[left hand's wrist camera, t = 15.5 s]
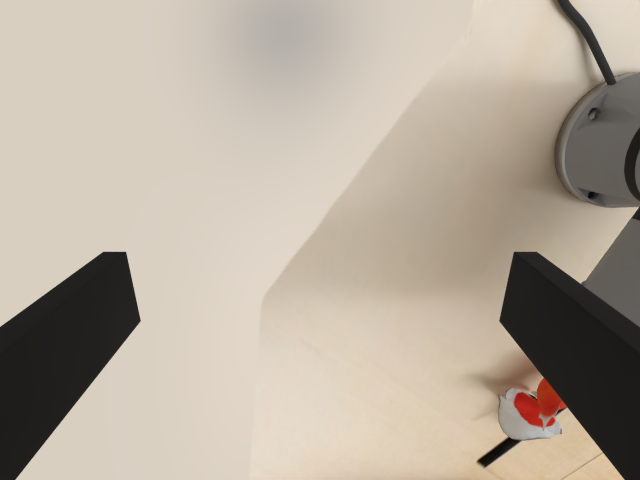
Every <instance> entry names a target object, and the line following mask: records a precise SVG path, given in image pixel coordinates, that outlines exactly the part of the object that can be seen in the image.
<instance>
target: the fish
mask: <svg viewBox="0 0 640 480" xmlns="http://www.w3.org/2000/svg"><path fill="white" fill-rule="evenodd" d="M531 393H533V394H534V395H535V396H536V397H537V399H536V398H535V397H534V396H532V395H530V394H528V393H526V392H524V391H521V390H518V389H514V388H510V389H508V390H507V391H506V397H504V396H502V395H498V396H499V399H500V405H499V414H498V419H499V424H500V426H501V428H502V430H503V432H504V433H505V434H506V435H507V436H509V437H510V438H512V439H516V440H532V439H541V438H551V437H552V436H554V435H555V434H561V427H560V425H559V423H558V421H557V420H556V418H555V416H554V415H555V414H556V413H557V411H558V410H560V409H563V408H565V407H567V406H566V405H565V403H564V402H563V401H562V400H561V398H560V397H559V396H558V395H557V393H556V392H555V391H554V390H553V388H552V387H551V386H550V384H549V383H548V382H547V381H546V379H545V378H544V379H542V381H541V382H540V384H539V386H538V389H537V392H534V391H532V392H531Z"/></svg>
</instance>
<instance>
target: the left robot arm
mask: <svg viewBox="0 0 640 480" xmlns="http://www.w3.org/2000/svg"><path fill="white" fill-rule="evenodd" d="M558 2H559V4H560V6H561V7H562V9H563V10H564V12H565V13H566V14H567V15H568V16H569V17H570V18H571V20H572V21H573V22H574V23H575V24H576V25H577V26H578V28H579V29H580V30H581V32H582V34H583V35H584V37H585V39H586V41H587V43H588V45H589V47H590V49H591V51H592V53H593V55H594V57H595V59H596V62H597V64H598V66H599V68H600V70H601V72H602V74H603V76H604V78H605V82H603V83H602V84H600V85H598V86H597V87H595V88H594V89H593V90H591V91H590V92H589V93H588V94H586V95H585V96H584V97H583V98H582V99H581V100H580V101H579V102H578V103H577V104H576V106H575V107H574V108H573V109H572V111H571V112H570V113H569V115H568V117H567V118H566V120H565V122H564V124H563V126H562V128H561V130H560V133H559V136H558V139H557V143H556V149H555V164H556V170H557V173H558V176H559V178H560V180H561V182H562V184H563V185H564V186H565V188H566V189H567V190H568V191H569V192H570V193H571V194H573V195H574V196H576V197H577V198H579V199H582V200H584V201H586V202H589V203H591V204H594V205H597V206H601V207H610V208H617V207H639V208H638V210H637V211H636V213H635V214H634V215H633V217H632V218H631V219H630V220H629V222H628V223H627V225H626V226H625V227H624V229H623V230H622V231H621V233H620V234H619V236H618V237H617V238H616V240H615V241H614V242H613V244H612V245H611V246H610V248H609V249H608V251H607V252H606V253H605V255H604V256H603V257H602V259H601V260H600V262H599V263H598V264H597V266H596V267H595V268H594V270H593V271H592V272H591V274H590V275H589V277H588V278H587V279H586V281H584V282H582V283H581V284H580V283H579V282H577V281H576V280H575V279H573V278H572V277H570V276H569V275H568V274H566V273H565V272H564V271H562V270H561V269H559V268H558V267H557V266H555V265H554V264H553V263H551V262H550V261H548V260H547V259H546V258H544V257H543V256H542V255H540V254H539V253H537V252H514V254H513V259H512V264H511V268H510V273H509V278H508V283H507V287H506V292H505V297H504V302H503V306H502V311H501V316H500V320H499V321H500V322H501V324H502V325H503V326H504V328H505V329H506V330H507V331H508V333H509V334H510V335H511V336H512V338H513V339H514V340H515V341H516V343H517V344H518V345H519V347H520V348H521V349H522V350H523V352H524V353H525V354H526V355H527V357H528V358H529V359H530V360H531V362H532V363H533V364H534V366H535V367H536V368H537V369H538V371H539V372H540V373H541V374H542V376H543V377H544V378H545V379H546V381H547V382H548V383H549V384H550V386H551V387H552V388H553V390H554V391H555V392H556V393H557V395H558V396H559V397H560V398H561V400H562V401H563V402H564V403H565V405H566V406H567V407H568V409H569V410H570V411H571V412H572V414H573V415H574V416H575V417H576V419H577V420H578V421H579V422H580V424H581V425H582V426H583V428H584V429H585V430H586V431H587V433H588V434H589V435H590V436H591V438H592V439H593V440H594V441H595V443H596V444H597V445H598V447H599V448H600V449H601V450H602V452H603V453H604V454H605V455H606V457H607V458H608V459H609V460H610V462H611V463H612V464H613V465H614V467H615V468H616V469H617V471H618V472H619V473H620V474H621V476H622V477H623V478H624V479H625V480H640V72H633V73H627V74H623V75H620V76H617V77H614V76H613V73H612V71H611V69H610V67H609V65H608V63H607V61H606V58H605V56H604V54H603V52H602V50H601V48H600V46H599V44H598V42H597V39H596V37H595V36H594V34H593V32H592V30H591V28H590V27H589V25H588V23H587V22H586V21H585V19H584V18H583V17H582V16H581V15H580V14H579V13H578V12H577V10H576V9H575V8H574V7H573V6H572V5H571V3H570V2H569V0H558ZM140 321H141V320H140V316H139V311H138V306H137V302H136V297H135V292H134V287H133V283H132V278H131V273H130V268H129V264H128V259H127V254H126V252H103V253H101V254H100V255H98V256H97V257H96V258H94V259H93V260H92V261H90V262H89V263H87V264H86V265H85V266H83V267H82V268H81V269H79V270H78V271H76V272H75V273H74V274H72V275H71V276H70V277H68V278H67V279H66V280H64V281H63V282H61V283H60V284H59V285H57V286H56V287H54V288H53V289H52V290H50V291H49V292H48V293H46V294H45V295H44V296H42V297H41V298H39V299H38V300H37V301H35V302H34V303H33V304H31V305H30V306H29V307H27V308H26V309H24V310H23V311H22V312H20V313H19V314H17V315H16V316H15V317H13V318H12V319H11V320H9V321H8V322H6V323H5V324H4V325H2V326H1V327H0V480H15V479H16V478H17V477H18V476H19V474H20V473H21V472H22V471H23V469H24V468H25V467H26V465H27V464H28V463H29V462H30V460H31V459H32V458H33V457H34V455H35V454H36V453H37V452H38V450H39V449H40V448H41V446H42V445H43V444H44V443H45V441H46V440H47V439H48V438H49V436H50V435H51V434H52V433H53V431H54V430H55V429H56V428H57V426H58V425H59V424H60V422H61V421H62V420H63V419H64V417H65V416H66V415H67V414H68V412H69V411H70V410H71V408H72V407H73V406H74V405H75V403H76V402H77V401H78V400H79V398H80V397H81V396H82V395H83V393H84V392H85V391H86V389H87V388H88V387H89V386H90V384H91V383H92V382H93V381H94V379H95V378H96V377H97V376H98V374H99V373H100V372H101V371H102V369H103V368H104V367H105V365H106V364H107V363H108V362H109V360H110V359H111V358H112V357H113V355H114V354H115V353H116V352H117V350H118V349H119V348H120V347H121V345H122V344H123V343H124V341H125V340H126V339H127V338H128V336H129V335H130V334H131V333H132V331H133V330H134V329H135V328H136V326H137V325H138V324H139V322H140Z"/></svg>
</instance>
